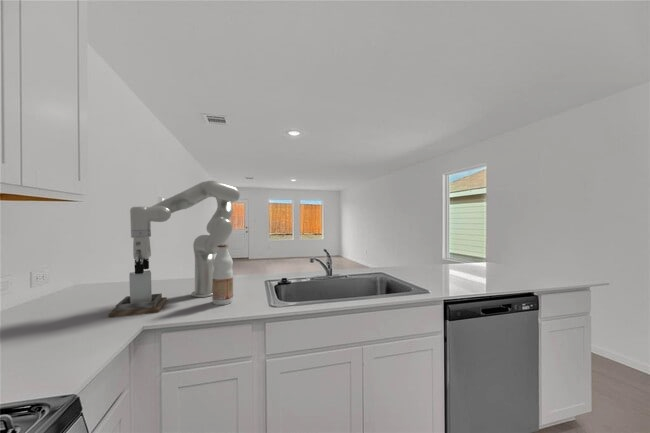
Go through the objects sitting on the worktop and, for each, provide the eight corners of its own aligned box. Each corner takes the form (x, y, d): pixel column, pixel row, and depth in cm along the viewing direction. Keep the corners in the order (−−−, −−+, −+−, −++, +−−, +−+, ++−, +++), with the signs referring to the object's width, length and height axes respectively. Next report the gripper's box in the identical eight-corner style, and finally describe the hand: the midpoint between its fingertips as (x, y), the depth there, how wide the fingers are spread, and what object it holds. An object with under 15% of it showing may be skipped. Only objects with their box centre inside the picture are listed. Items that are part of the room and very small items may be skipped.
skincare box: (151, 301, 129) (151, 269, 129) (151, 304, 124) (152, 272, 124) (129, 304, 124) (129, 271, 124) (129, 308, 119) (129, 274, 119)
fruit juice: (216, 306, 127) (216, 246, 127) (209, 301, 134) (210, 244, 134) (236, 302, 133) (236, 244, 133) (228, 298, 140) (229, 243, 140)
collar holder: (166, 300, 136) (166, 292, 136) (159, 312, 119) (159, 302, 119) (123, 304, 130) (123, 295, 130) (108, 317, 113) (108, 307, 113)
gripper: (146, 234, 118) (147, 274, 118) (154, 232, 134) (155, 267, 134) (125, 235, 115) (126, 276, 116) (136, 232, 131) (137, 268, 132)
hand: (142, 271), depth 125 cm, fingers open, 9 cm apart
